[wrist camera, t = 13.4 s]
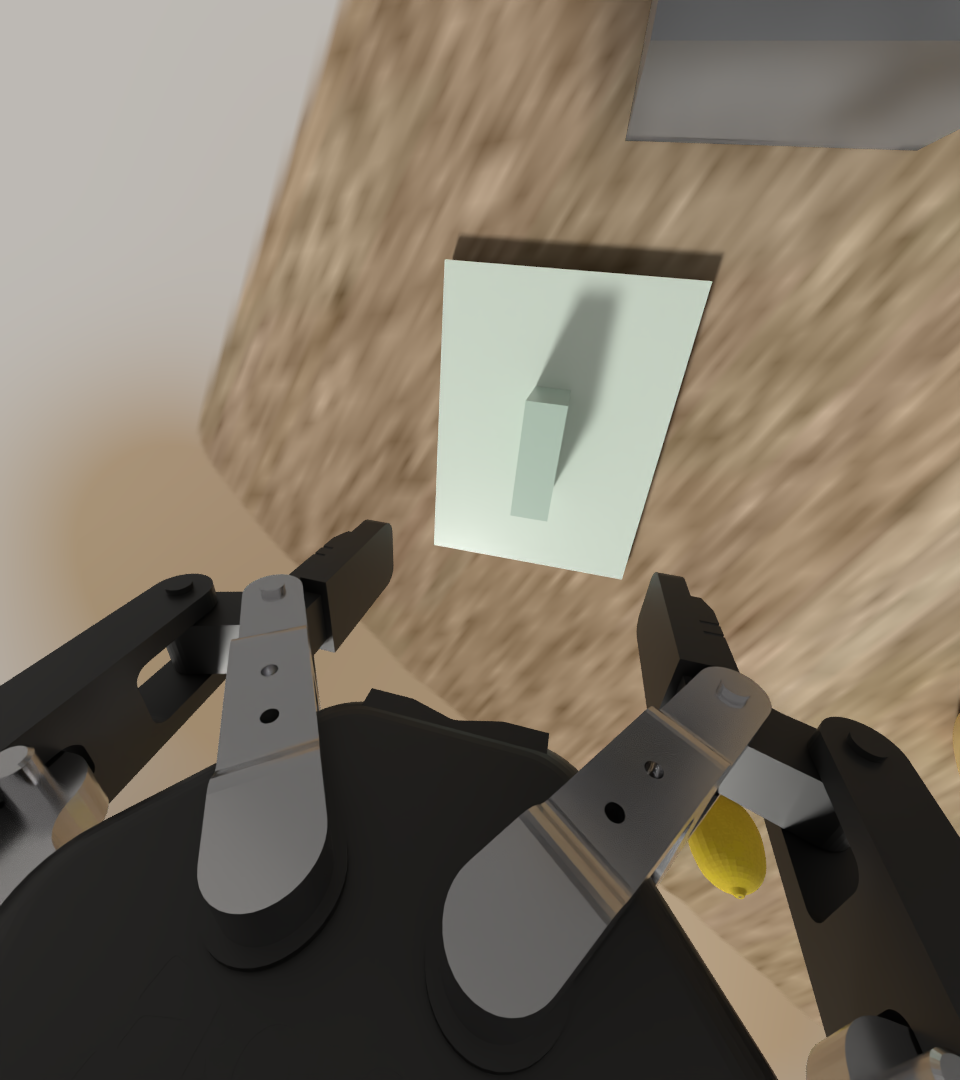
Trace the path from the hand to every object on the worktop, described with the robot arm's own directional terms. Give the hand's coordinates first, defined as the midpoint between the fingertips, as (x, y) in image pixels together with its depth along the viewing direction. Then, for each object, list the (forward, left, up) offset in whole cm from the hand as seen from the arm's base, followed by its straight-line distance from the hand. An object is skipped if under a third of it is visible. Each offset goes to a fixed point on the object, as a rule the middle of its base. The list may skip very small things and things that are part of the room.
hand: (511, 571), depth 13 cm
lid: (0, 0, -16) cm, 16 cm away
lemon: (-20, +30, -16) cm, 39 cm away
